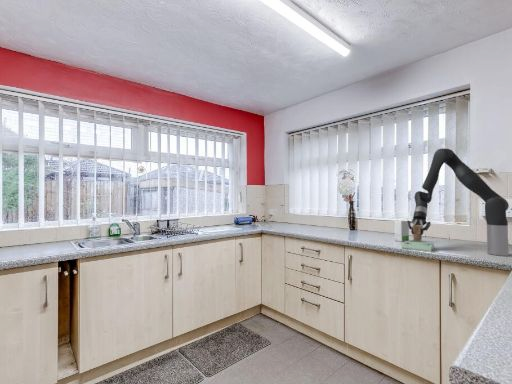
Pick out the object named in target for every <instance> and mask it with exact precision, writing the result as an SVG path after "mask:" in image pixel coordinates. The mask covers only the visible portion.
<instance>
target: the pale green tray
mask: <svg viewBox="0 0 512 384" xmlns="http://www.w3.org/2000/svg"><path fill="white" fill-rule="evenodd" d="M401 249H402V250H403V249H404V250H411V251H412V250H413V251H421V252H429V251H430V253H431V252H432V251H433V250H434V249H435V243H430V242H421V241H410V240H409V241H406V242H403V243H402V242H401Z"/></svg>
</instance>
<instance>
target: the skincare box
mask: <svg viewBox="0 0 512 384" xmlns="http://www.w3.org/2000/svg"><path fill="white" fill-rule="evenodd" d="M407 221H408V220H399V219H398V220H394V241H395V242H401V243H402V242H403V243H404V242H406V241H410V229H409V226H408V222H407Z"/></svg>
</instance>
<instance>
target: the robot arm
mask: <svg viewBox="0 0 512 384" xmlns="http://www.w3.org/2000/svg"><path fill="white" fill-rule="evenodd" d="M444 164H445V165H447V166H448V167H449V168H450V169H451V170H452V171H453V173H454V175H455V177H456V178H457V180H458V181H459V182H460V183H461V184H462V185H463V186H464V187H465V188H467V189H468V190H469V191H471V192H472V193H474V194H475V195H477V196H478V197H479V198H480V199H482V201H484V216H485V217H484V218H485V221H486V254H488V255H493V256H500V257H501V256H502V257H505V256H506V257H509V255H510V254H509V252H510V250H509V226H508V225H509V224H508V223H509V222H508V219H507V211H508V209H509V208H510V207H509V202H508V201H507V199H505V198H504V197H502V196H501V195H500V194H498V193H497V192H496V191H494V190H493V189H492V188H491V187H490V186H489V185H488V184H487V183H486V181H484V179H483V178H481V177H480V175H478V174H477V173H476V172H475V171H474V170H473V169H471V168H470V166H469V165H468V164H467V165H466V164H465V163H464V162H463V161H462V160H461V159H460V157H459V156H457V154H456V153H455V152H454V151H453V150H452V149H450V148H439V149H437V150H435V152H434V154H433V157H432V161H431V164H430V168H429V171H428V173H427V175H426V177H425V180H424V182H423V183H422V185H421V189H423V190H425V191H426V192H423V191H421V190H418V191H415V194H414V201H415V202H414V203H415V207H414V208H415V209H414V210H413V217H412V220H406V221H407V222H408V226H409V230H411V231H410V232H411V234H412V235H413V234H414V231H413V225H421V232H420V235H424V231H427V232H428V230H429V228H430V227H431V225H432V224H431V221H427V214H428V204H429V203H431V201H432V199H433V191H434V189H435V187H436V185H437V182H438V181H439V175H440V170H441V168H442V167H443V165H444Z"/></svg>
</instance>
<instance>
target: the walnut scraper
mask: <svg viewBox="0 0 512 384" xmlns="http://www.w3.org/2000/svg"><path fill="white" fill-rule="evenodd" d="M412 226H413V231H414V234H412V236H413V237H412V239H413V240H412V242H422V239H423V238H422V235H420V232H421V225H413V224H412Z"/></svg>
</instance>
